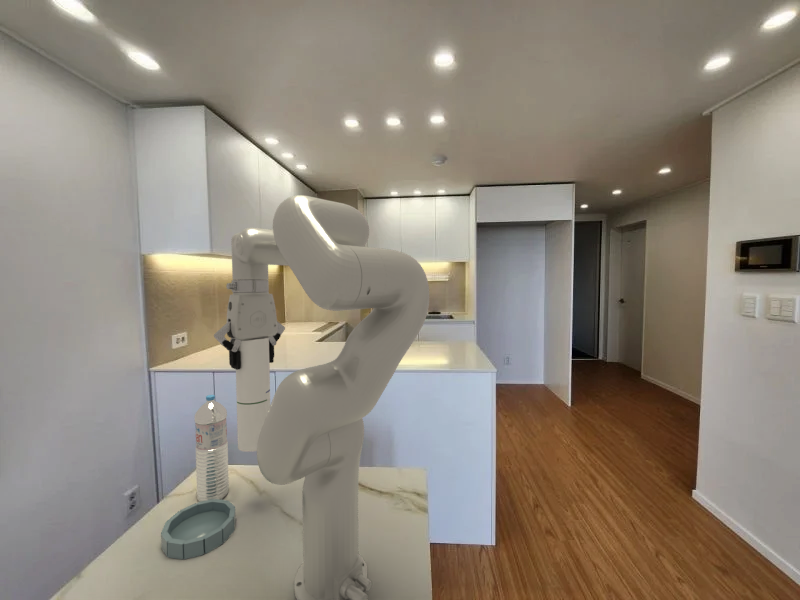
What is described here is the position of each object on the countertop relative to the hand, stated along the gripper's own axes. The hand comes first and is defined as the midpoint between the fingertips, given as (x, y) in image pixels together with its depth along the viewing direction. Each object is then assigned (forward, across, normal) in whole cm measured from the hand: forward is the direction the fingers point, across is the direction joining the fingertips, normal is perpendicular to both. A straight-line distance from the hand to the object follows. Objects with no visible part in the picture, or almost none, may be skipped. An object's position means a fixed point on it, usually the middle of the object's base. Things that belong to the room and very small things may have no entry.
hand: (252, 364), depth 78 cm
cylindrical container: (+19, 0, 0) cm, 19 cm away
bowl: (+33, -12, 0) cm, 36 cm away
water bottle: (+34, -5, +11) cm, 36 cm away
